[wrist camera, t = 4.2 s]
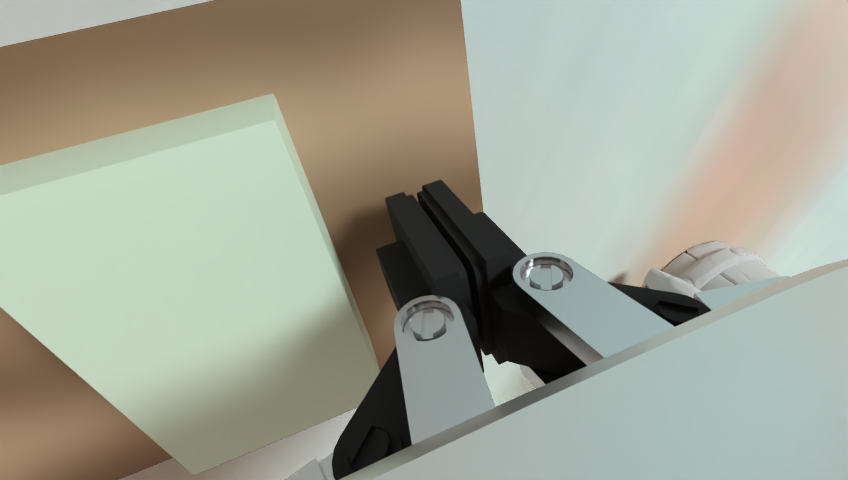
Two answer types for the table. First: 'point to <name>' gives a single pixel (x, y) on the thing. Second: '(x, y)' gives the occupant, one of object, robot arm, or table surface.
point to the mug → (709, 269)
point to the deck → (216, 87)
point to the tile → (188, 281)
